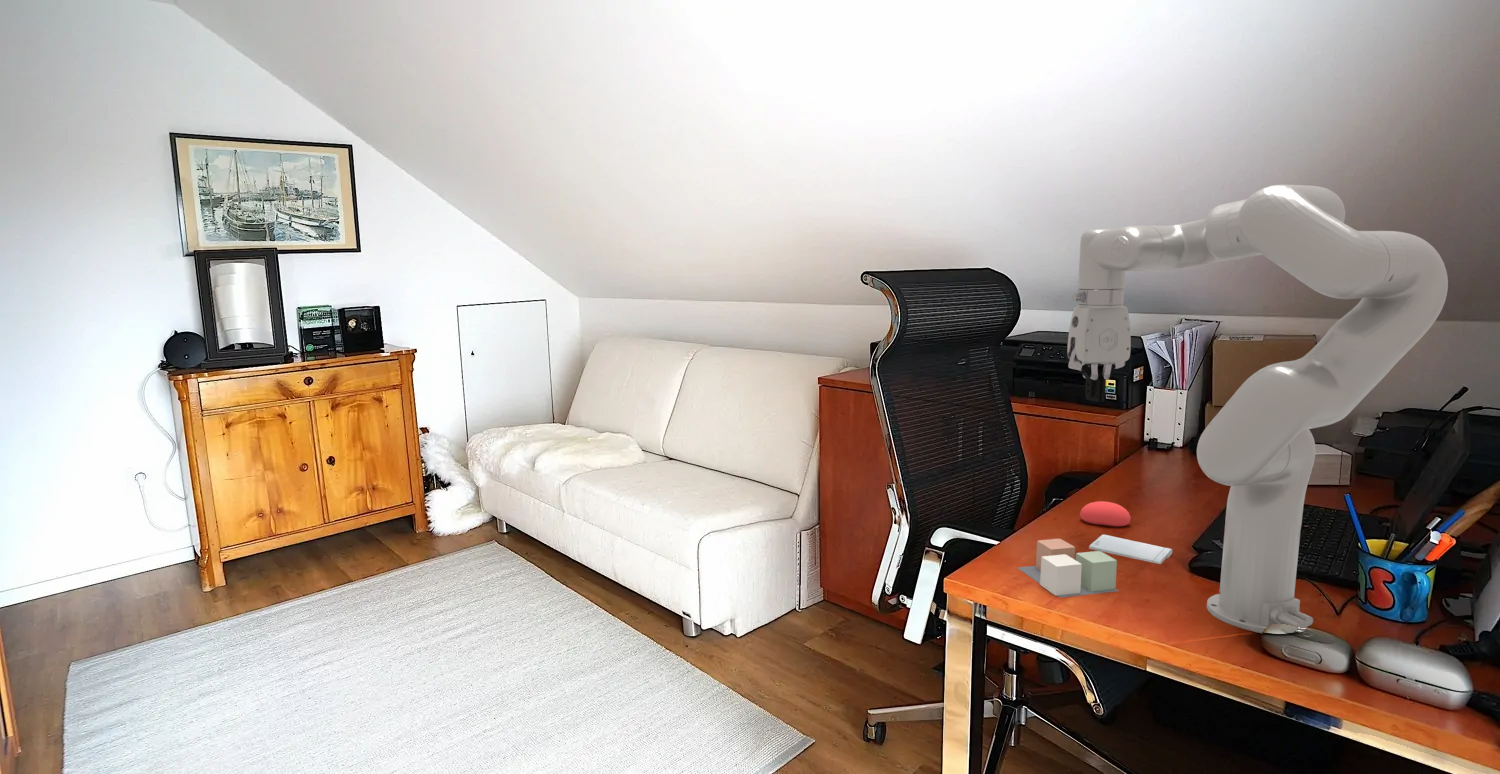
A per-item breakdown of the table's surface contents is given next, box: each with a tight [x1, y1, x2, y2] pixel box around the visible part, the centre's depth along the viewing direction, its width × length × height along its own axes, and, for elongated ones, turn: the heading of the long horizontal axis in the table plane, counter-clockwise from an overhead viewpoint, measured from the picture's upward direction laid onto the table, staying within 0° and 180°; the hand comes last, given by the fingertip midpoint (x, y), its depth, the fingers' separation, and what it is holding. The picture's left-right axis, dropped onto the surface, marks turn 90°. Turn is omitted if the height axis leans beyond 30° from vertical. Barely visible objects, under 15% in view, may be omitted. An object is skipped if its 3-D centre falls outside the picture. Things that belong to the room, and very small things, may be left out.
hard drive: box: [1088, 534, 1173, 565], centre depth 148 cm, size 2×8×12 cm
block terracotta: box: [1035, 538, 1076, 571], centre depth 138 cm, size 4×4×5 cm
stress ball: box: [1079, 500, 1132, 528], centre depth 163 cm, size 5×9×6 cm, turn 53°
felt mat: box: [1017, 565, 1120, 599], centre depth 135 cm, size 13×11×1 cm
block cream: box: [1039, 554, 1082, 597], centre depth 131 cm, size 4×4×5 cm
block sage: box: [1075, 550, 1118, 592], centre depth 132 cm, size 4×4×5 cm
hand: (1094, 400), depth 144 cm, fingers closed
